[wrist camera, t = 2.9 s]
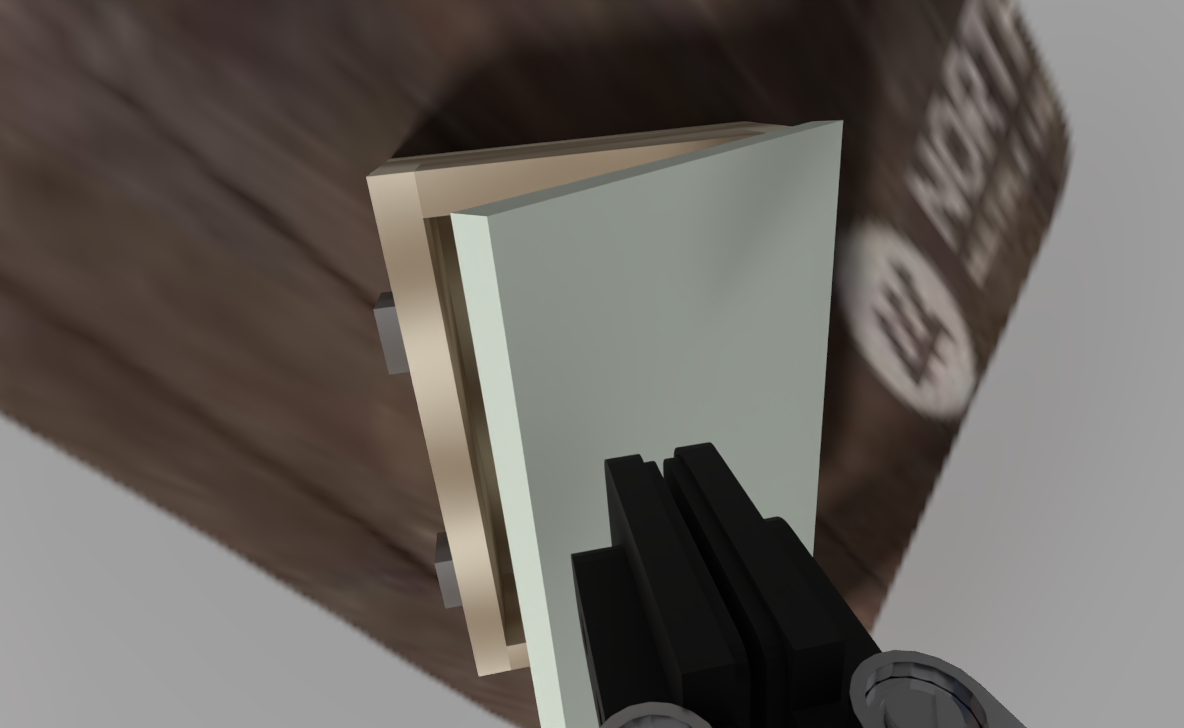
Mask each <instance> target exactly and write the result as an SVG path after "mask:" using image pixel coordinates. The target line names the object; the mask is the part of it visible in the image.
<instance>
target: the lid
mask: <svg viewBox="0 0 1184 728" xmlns="http://www.w3.org/2000/svg"><path fill="white" fill-rule="evenodd" d="M842 129H843V120H833V121H812V122H808V123H804V124H801V125H797V126H793V127H789V128H785V129H781V130H777V131H773V132H769V133H765V134H761V135H757V136H753V137H749V138H745V139H741V140H737V141H733V142H729V143H725V144H721V145H717V146H713V147H709V148H706V149H702V150H698V151H694V152H690V153H686V154H682V155H678V156H674V157H670V158H666V159H662V160H658V161H654V162H650V163H646V164H642V165H638V166H634V167H630V168H626V169H622V170H618V171H615V172H611V173H607V174H603V175H599V176H595V177H591V178H587V179H583V180H579V181H575V182H571V183H567V184H563V185H559V186H555V187H551V188H547V189H543V190H539V191H535V192H531V193H527V194H524V195H520V196H516V197H512V198H508V199H504V200H500V201H496V202H492V203H488V204H484V205H480V206H476V207H472V208H468V209H464V210H460V211H456V212H452V213H450V215H451V220H452V226H453V232H454V237H455V243H456V249H457V254H458V260H459V266H460V271H461V277H462V283H463V288H464V294H465V300H466V305H467V311H468V316H469V322H470V328H471V333H472V339H473V345H474V350H475V356H476V362H477V367H478V373H479V379H480V384H481V390H482V396H483V401H484V407H485V413H486V418H487V424H488V429H489V435H490V441H491V446H492V452H493V458H494V463H495V469H496V475H497V480H498V486H499V492H500V497H501V503H502V509H503V514H504V520H505V525H506V531H507V537H508V542H509V548H510V554H511V559H512V565H513V571H514V576H515V582H516V588H517V593H518V599H519V605H520V610H521V616H522V622H523V627H524V633H525V638H526V644H527V650H528V655H529V661H530V667H531V672H532V678H533V684H534V689H535V695H536V701H537V706H538V712H539V718H540V723H541V728H599V724H598V719H597V714H596V709H595V703H594V698H593V693H592V688H591V682H590V677H589V672H588V667H587V661H586V656H585V651H584V645H583V640H582V634H581V628H580V621H579V615H578V609H577V602H576V594H575V587H574V579H573V571H572V563H571V554H573V553H578V552H584V551H589V550H595V549H600V548H606V547H611V546H612V544H611V534H610V523H609V513H608V502H607V492H606V481H605V471H604V460H605V459H610V458H616V457H622V456H628V455H634V454H640V455H641V457H642V459H643V461H644V462H649V461H655V462H656V464H657V466H658V468H659V470H660V472H661V474H662V476H663V461H664V459H667V458H673V457H674V450H675V448H676V447H682V446H688V445H694V444H700V443H706V442H711V443H712V444H713V445H714V446H715V448H716V449H717V451H718V452H719V454H720V455H721V456H722V458H723V459H724V461H725V462H726V464H727V465H728V467H729V468H730V470H731V471H732V473H733V474H734V476H735V477H736V479H737V480H738V482H739V483H740V484H741V486H742V487H743V489H744V490H745V492H746V493H747V495H748V496H749V498H750V499H751V501H752V502H753V504H754V505H755V507H756V508H757V510H758V511H759V513H760V514H761V515H762V517H763V518H764V519H765V518H771V517H776V516H779V517H781V518H783V519H784V520H785V521H786V522H787V523H788V524H789V525H790V527H791V528H792V529H793V531H794V532H795V533H796V535H797V536H798V537H799V539H800V540H801V542H802V543H803V544H804V546H805V547H806V548H807V550H808V551H809V553H810V554H811V555H812V557H813V548H814V533H815V519H816V504H817V490H818V476H819V461H820V447H821V432H822V418H823V403H824V389H825V374H826V360H827V346H828V331H829V317H830V302H831V288H832V273H833V259H834V245H835V230H836V216H837V201H838V187H839V172H840V158H841V144H842ZM663 478H664V476H663Z"/></svg>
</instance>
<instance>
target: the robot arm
mask: <svg viewBox="0 0 1184 728" xmlns="http://www.w3.org/2000/svg"><path fill="white" fill-rule="evenodd" d="M604 471H605V481H606V492H607V502H608V513H609V523H610V534H611V544H612V546H611V547H606V548H600V549H595V550H589V551H584V552H578V553H573V554H571V563H572V571H573V579H574V587H575V594H576V602H577V609H578V615H579V621H580V628H581V634H582V640H583V645H584V651H585V656H586V661H587V667H588V672H589V677H590V682H591V688H592V693H593V698H594V703H595V709H596V714H597V719H598V724H599V728H1026V727H1025V726H1024V725H1023V724H1022V723H1021V722H1020V721H1019V720H1018V719H1017V718H1016V717H1014V715H1013V714H1011V713H1010V712H1009V711H1008V710H1007V709H1006V708H1005V707H1004V706H1003V705H1002V704H1001V703H1000V702H999V701H998V700H997V699H995V697H993V696H992V695H991V694H990V693H989V692H988V691H987V690H986V689H985V688H984V687H983V686H982V685H981V684H980V683H978V682H977V681H976V680H974V679H973V678H972V677H970V676H969V675H968V674H966V673H965V672H964V671H963V670H961V669H960V668H958V667H956V666H954V665H952V664H950V663H948V662H945V661H943V660H942V659H940V658H937V657H934V656H930V655H926V654H923V653H920V652H916V651H901V650H892V651H888V652H883V653H882V652H881V650H880V649H879V647H878V646H877V645H876V643H875V642H874V640H873V639H872V638H871V636H870V635H869V634H868V632H867V631H866V629H865V628H864V627H863V625H862V624H861V623H860V621H859V620H858V618H857V617H856V616H855V614H854V613H853V612H852V610H851V609H850V607H849V606H848V605H847V603H846V602H845V601H844V599H843V598H842V596H841V595H840V594H839V592H838V591H837V590H836V588H835V587H834V586H833V584H832V583H831V581H830V580H829V579H828V577H827V576H826V575H825V573H824V572H823V570H822V569H821V568H820V566H819V565H818V564H817V562H816V561H815V559H814V558H813V557H812V555H811V554H810V553H809V551H808V550H807V548H806V547H805V546H804V544H803V543H802V542H801V540H800V539H799V537H798V536H797V535H796V533H795V532H794V531H793V529H792V528H791V527H790V525H789V524H788V523H787V522H786V521H785V520H784V519H783V518H781V517H779V516H776V517H771V518H765V519H764V518H763V517H762V515H761V514H760V513H759V511H758V510H757V508H756V507H755V505H754V504H753V502H752V501H751V499H750V498H749V496H748V495H747V493H746V492H745V490H744V489H743V487H742V486H741V484H740V483H739V482H738V480H737V479H736V477H735V476H734V474H733V473H732V471H731V470H730V468H729V467H728V465H727V464H726V462H725V461H724V459H723V458H722V456H721V455H720V454H719V452H718V451H717V449H716V448H715V446H714V445H713V444H712V443H711V442H706V443H700V444H694V445H688V446H682V447H676V448H675V450H674V457H673V458H667V459H664V461H663V476H664V478H663V476H662V474H661V472H660V470H659V468H658V466H657V464H656V462H655V461H649V462H644V461H643V459H642V457H641V455H640V454H634V455H628V456H622V457H616V458H610V459H605V460H604Z"/></svg>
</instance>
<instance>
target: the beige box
mask: <svg viewBox="0 0 1184 728" xmlns="http://www.w3.org/2000/svg"><path fill="white" fill-rule="evenodd" d="M789 127H792V126H783V125H774V124H765V123H756V122H747V121H741V122H732V123H722V124H713V125H703V126H694V127H685V128H675V129H666V130H656V131H647V132H637V133H628V134H619V135H609V136H600V137H590V138H581V139H571V140H562V141H553V142H543V143H534V144H524V145H515V146H505V147H496V148H487V149H477V150H468V151H458V152H449V153H439V154H430V155H421V156H411V157H402V158H392V159H389V160H388V161H387V162H385V163H384V164H383V165H381V166H380V167H379V168H377V169H376V170H375V171H373V172H372V173H371V174H369V175H368V176H367V177H366V178H367V182H368V187H369V191H370V196H371V200H372V204H373V209H374V213H375V218H376V222H377V227H378V231H379V236H380V240H381V244H382V249H383V253H384V258H385V262H386V267H387V271H388V275H389V280H390V284H391V289H392V291H391V292H383V293H381V295H380V297H379V299H378V301H377V303H376V305H375V307H374V309H373V310H374V314H375V318H376V322H377V326H378V330H379V335H380V339H381V343H382V347H383V351H384V355H385V360H386V364H387V368H388V372H389V375H390V374H397V373H404V372H410V373H411V378H412V382H413V386H414V391H415V395H416V400H417V404H418V409H419V413H420V418H421V422H422V426H423V431H424V435H425V440H426V444H427V449H428V453H429V457H430V462H431V466H432V471H433V475H434V480H435V484H436V489H437V493H438V497H439V502H440V506H441V511H442V515H443V520H444V524H445V528H446V532H442V533H437V543H436V554H435V567H436V571H437V576H438V580H439V584H440V588H441V592H442V596H443V601H444V605H445V608H450V607H456V606H461V605H463V608H464V613H465V617H466V622H467V626H468V631H469V635H470V639H471V644H472V648H473V653H474V657H475V662H476V666H477V671H478V675H479V676H483V675H488V674H493V673H498V672H503V671H508V670H514V669H519V668H524V667H529V666H530V661H529V655H528V650H527V644H526V638H525V633H524V627H523V622H522V616H521V610H520V605H519V599H518V593H517V588H516V582H515V576H514V571H513V565H512V559H511V554H510V548H509V542H508V537H507V531H506V525H505V520H504V514H503V509H502V503H501V497H500V492H499V486H498V480H497V475H496V469H495V463H494V458H493V452H492V446H491V441H490V435H489V429H488V424H487V418H486V413H485V407H484V401H483V396H482V390H481V384H480V379H479V373H478V367H477V362H476V356H475V350H474V345H473V339H472V333H471V328H470V322H469V316H468V311H467V305H466V300H465V294H464V288H463V283H462V277H461V271H460V266H459V260H458V254H457V249H456V243H455V237H454V232H453V226H452V220H451V215H450V213H452V212H456V211H460V210H464V209H468V208H472V207H476V206H480V205H484V204H488V203H492V202H496V201H500V200H504V199H508V198H512V197H516V196H520V195H524V194H527V193H531V192H535V191H539V190H543V189H547V188H551V187H555V186H559V185H563V184H567V183H571V182H575V181H579V180H583V179H587V178H591V177H595V176H599V175H603V174H607V173H611V172H615V171H618V170H622V169H626V168H630V167H634V166H638V165H642V164H646V163H650V162H654V161H658V160H662V159H666V158H670V157H674V156H678V155H682V154H686V153H690V152H694V151H698V150H702V149H706V148H709V147H713V146H717V145H721V144H725V143H729V142H733V141H737V140H741V139H745V138H749V137H753V136H757V135H761V134H765V133H769V132H773V131H777V130H781V129H785V128H789Z"/></svg>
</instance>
